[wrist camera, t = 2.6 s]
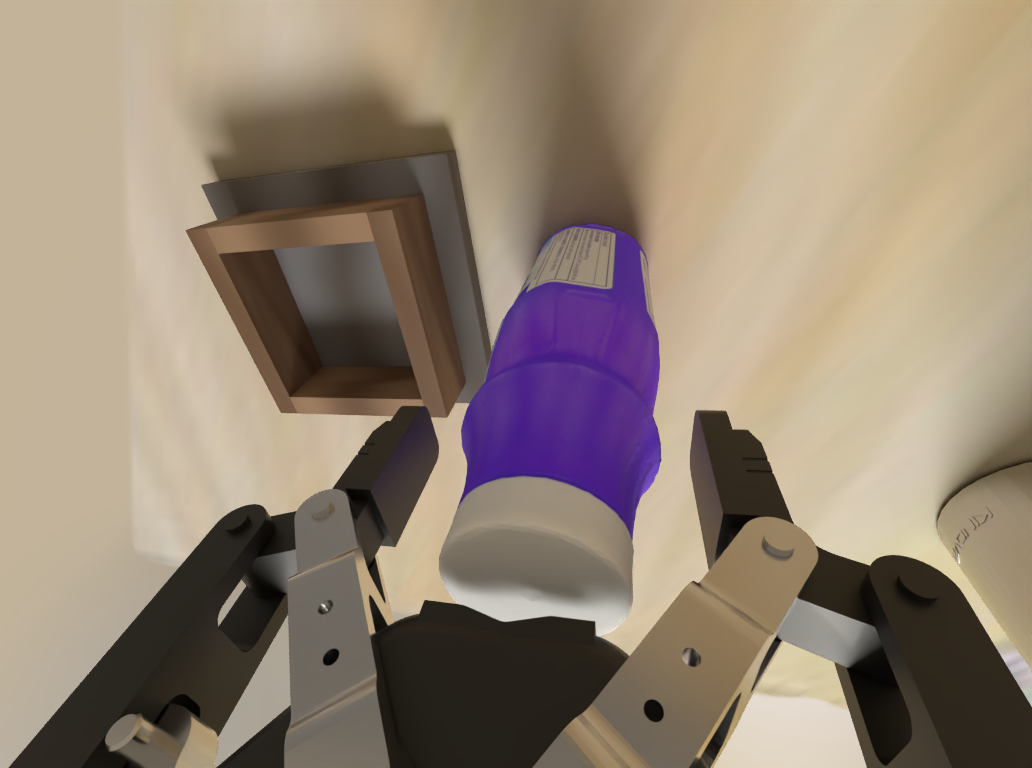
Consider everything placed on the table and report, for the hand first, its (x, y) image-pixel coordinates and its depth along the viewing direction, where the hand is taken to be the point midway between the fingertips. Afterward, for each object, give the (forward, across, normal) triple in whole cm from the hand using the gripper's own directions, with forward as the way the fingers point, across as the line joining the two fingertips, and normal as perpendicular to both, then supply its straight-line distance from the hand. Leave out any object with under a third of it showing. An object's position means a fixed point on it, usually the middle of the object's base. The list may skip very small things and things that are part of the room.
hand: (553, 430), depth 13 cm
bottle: (+12, 0, 0) cm, 12 cm away
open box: (+12, +13, 0) cm, 18 cm away
